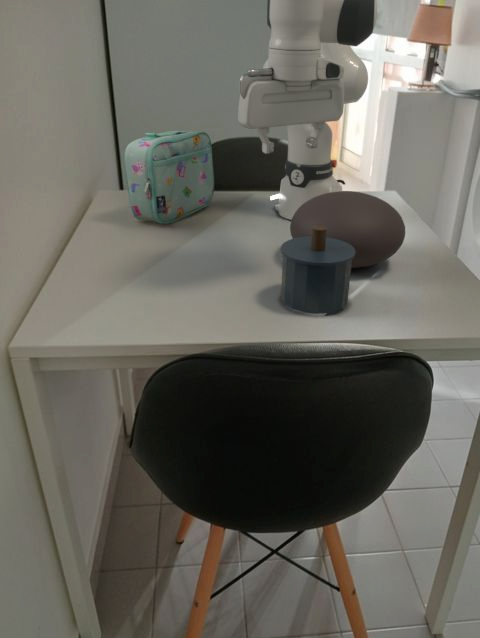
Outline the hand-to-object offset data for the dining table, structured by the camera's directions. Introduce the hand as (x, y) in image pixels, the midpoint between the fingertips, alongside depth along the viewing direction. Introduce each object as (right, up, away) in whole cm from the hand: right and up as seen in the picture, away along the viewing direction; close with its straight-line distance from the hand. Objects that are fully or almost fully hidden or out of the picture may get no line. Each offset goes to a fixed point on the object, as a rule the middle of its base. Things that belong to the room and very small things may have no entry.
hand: (290, 150), depth 111 cm
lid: (+5, -19, 0) cm, 19 cm away
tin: (+5, -27, +5) cm, 28 cm away
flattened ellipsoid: (+13, -17, +24) cm, 32 cm away
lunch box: (-28, -1, +49) cm, 57 cm away
